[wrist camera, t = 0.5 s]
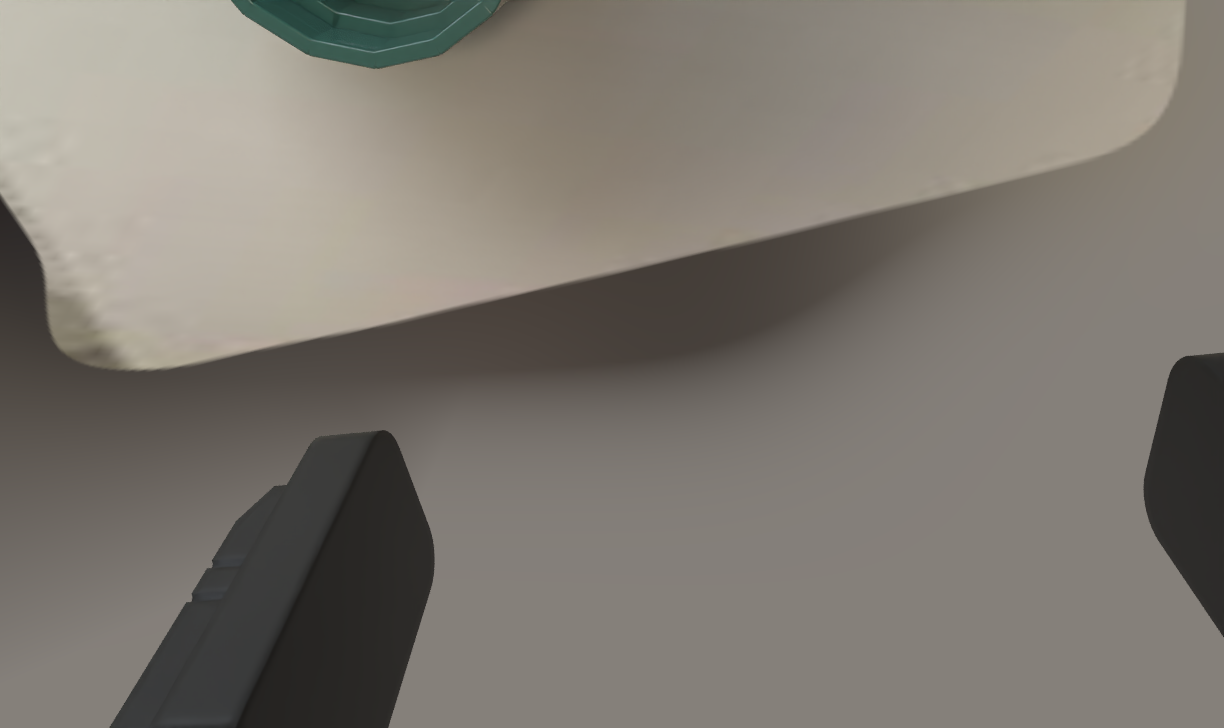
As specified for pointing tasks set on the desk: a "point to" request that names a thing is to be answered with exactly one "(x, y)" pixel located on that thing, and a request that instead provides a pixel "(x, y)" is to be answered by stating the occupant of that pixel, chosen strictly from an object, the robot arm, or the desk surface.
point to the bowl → (370, 27)
